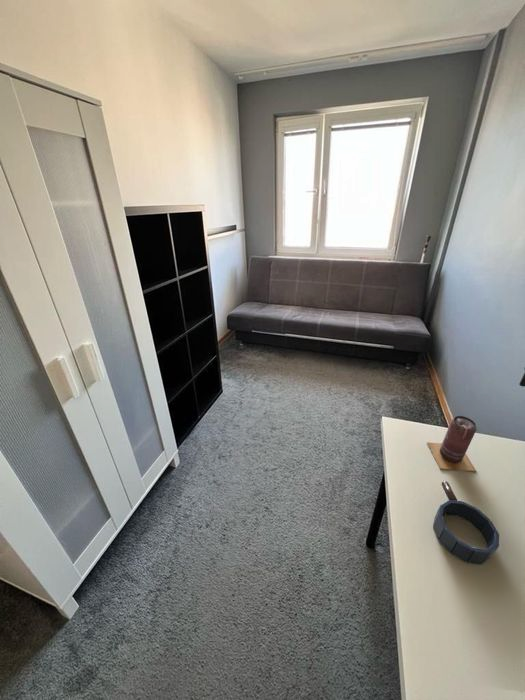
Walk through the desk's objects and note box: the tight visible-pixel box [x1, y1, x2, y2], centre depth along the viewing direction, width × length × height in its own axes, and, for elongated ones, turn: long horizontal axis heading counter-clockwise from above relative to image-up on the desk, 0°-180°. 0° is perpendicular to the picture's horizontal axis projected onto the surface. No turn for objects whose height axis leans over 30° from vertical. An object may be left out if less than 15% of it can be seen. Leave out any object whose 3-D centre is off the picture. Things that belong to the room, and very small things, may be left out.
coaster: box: [426, 441, 477, 473], centre depth 87 cm, size 10×10×1 cm
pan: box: [432, 480, 500, 565], centre depth 68 cm, size 12×18×5 cm, turn 173°
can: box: [440, 415, 477, 463], centre depth 83 cm, size 6×6×14 cm
